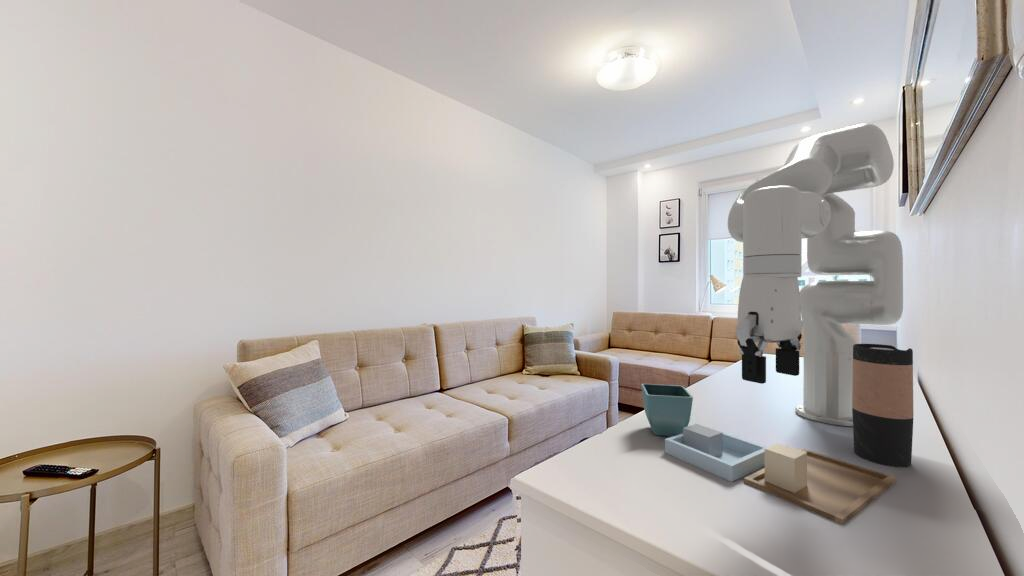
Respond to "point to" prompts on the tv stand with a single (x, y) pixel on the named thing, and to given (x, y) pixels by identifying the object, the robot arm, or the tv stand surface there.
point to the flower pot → (667, 408)
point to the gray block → (703, 439)
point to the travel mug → (883, 404)
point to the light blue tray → (731, 465)
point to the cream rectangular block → (786, 467)
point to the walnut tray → (830, 487)
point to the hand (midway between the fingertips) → (771, 377)
